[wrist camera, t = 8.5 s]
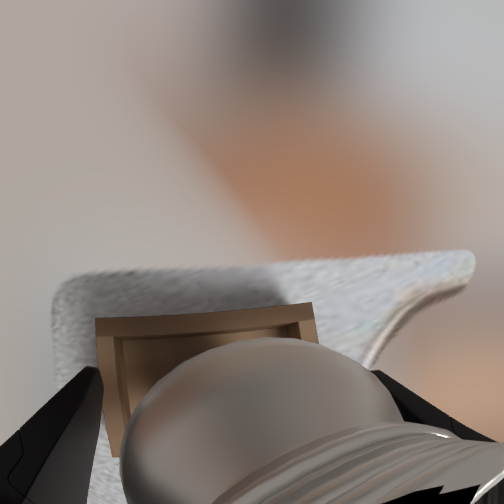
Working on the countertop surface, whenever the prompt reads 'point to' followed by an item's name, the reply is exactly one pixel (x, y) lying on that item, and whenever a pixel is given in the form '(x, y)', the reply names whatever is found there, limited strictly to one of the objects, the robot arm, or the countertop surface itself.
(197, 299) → the countertop surface
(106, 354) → the bottle stand
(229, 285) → the countertop surface
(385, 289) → the countertop surface
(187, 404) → the silver metal bottle
